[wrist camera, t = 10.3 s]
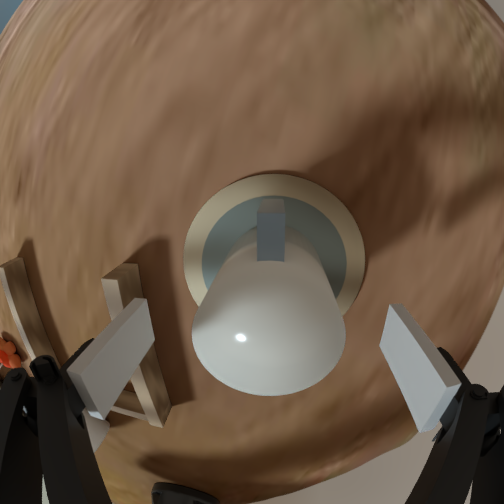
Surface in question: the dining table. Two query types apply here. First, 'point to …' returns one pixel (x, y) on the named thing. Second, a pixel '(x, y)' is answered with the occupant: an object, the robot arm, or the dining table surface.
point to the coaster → (296, 216)
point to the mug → (95, 429)
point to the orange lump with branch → (8, 355)
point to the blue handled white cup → (270, 312)
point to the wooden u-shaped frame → (117, 297)
